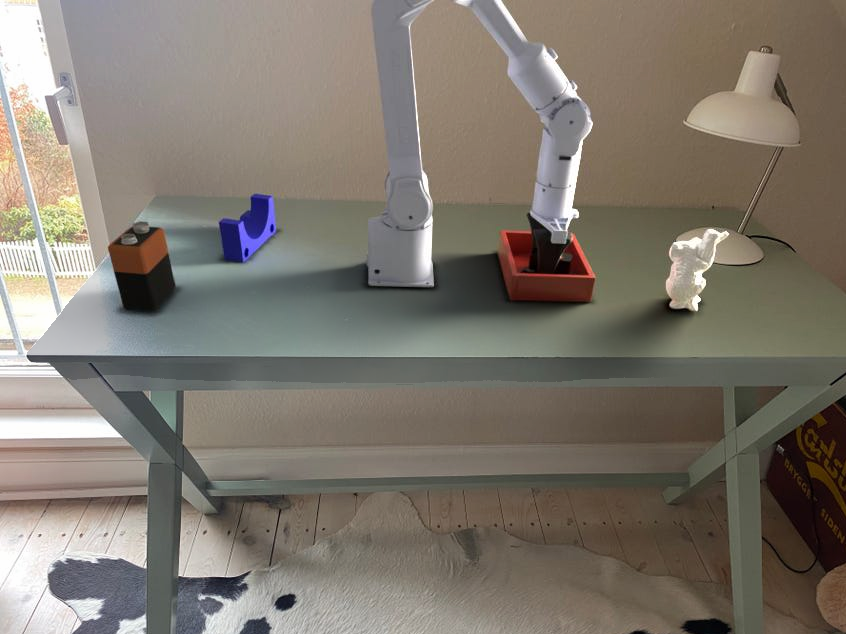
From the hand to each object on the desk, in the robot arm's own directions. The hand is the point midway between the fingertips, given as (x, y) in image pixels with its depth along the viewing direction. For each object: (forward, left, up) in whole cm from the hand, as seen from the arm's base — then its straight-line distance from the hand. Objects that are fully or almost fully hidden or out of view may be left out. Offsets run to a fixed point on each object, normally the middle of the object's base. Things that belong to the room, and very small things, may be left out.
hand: (543, 266), depth 102 cm
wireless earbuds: (0, -1, -1) cm, 1 cm away
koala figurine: (+20, -8, -2) cm, 22 cm away
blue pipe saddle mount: (-46, +8, -2) cm, 47 cm away
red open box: (0, 0, -2) cm, 2 cm away
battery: (-55, -10, -2) cm, 56 cm away
